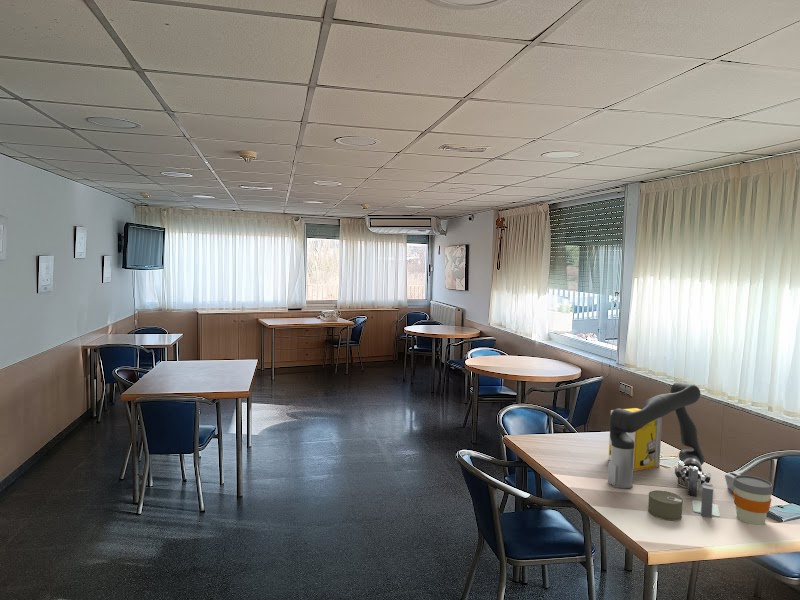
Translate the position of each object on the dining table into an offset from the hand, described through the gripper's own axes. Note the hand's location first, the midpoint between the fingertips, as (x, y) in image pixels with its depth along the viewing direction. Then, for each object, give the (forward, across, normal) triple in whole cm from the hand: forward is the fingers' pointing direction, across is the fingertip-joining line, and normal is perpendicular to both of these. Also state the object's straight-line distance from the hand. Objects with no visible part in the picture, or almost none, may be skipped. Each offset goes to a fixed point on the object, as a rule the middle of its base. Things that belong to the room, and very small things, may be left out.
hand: (693, 480), depth 221 cm
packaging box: (-29, -25, +7) cm, 39 cm away
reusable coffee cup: (+14, +19, +6) cm, 24 cm away
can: (+25, -10, +7) cm, 28 cm away
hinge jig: (+13, +4, +6) cm, 15 cm away
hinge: (-11, +18, +7) cm, 22 cm away
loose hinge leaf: (-2, 0, +6) cm, 7 cm away
